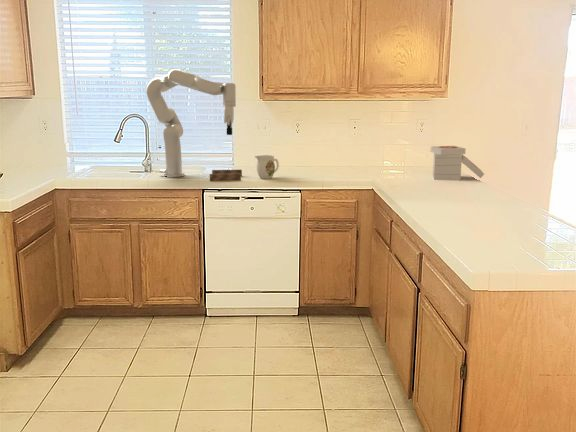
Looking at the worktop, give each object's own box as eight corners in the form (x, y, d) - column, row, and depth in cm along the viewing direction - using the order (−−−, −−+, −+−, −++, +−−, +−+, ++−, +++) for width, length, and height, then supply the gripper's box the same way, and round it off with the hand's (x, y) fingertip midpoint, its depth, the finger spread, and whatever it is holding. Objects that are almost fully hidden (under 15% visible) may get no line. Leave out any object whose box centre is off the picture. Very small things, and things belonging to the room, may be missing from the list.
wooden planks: (209, 181, 348) (209, 174, 347) (212, 176, 365) (212, 169, 364) (240, 180, 349) (240, 173, 348) (241, 175, 365) (241, 169, 364)
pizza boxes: (484, 181, 338) (486, 149, 334) (430, 180, 344) (431, 149, 340) (480, 175, 357) (482, 145, 353) (429, 174, 362) (430, 145, 358)
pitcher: (284, 177, 359) (284, 154, 356) (261, 180, 347) (261, 157, 344) (272, 175, 367) (272, 153, 364) (249, 178, 355) (249, 155, 352)
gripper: (224, 103, 363) (224, 133, 367) (221, 104, 349) (221, 135, 353) (236, 103, 363) (236, 133, 368) (234, 104, 349) (234, 136, 353)
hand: (229, 134), depth 360 cm, fingers closed
